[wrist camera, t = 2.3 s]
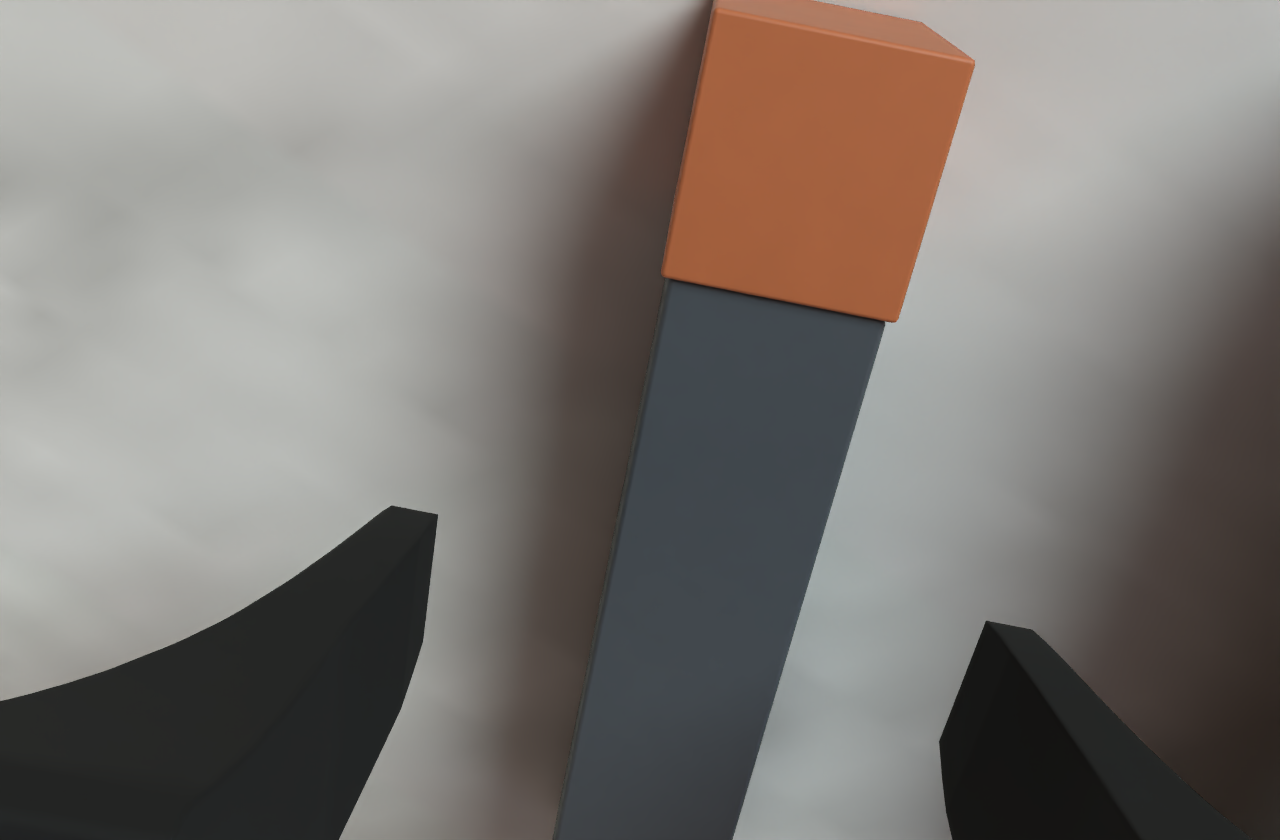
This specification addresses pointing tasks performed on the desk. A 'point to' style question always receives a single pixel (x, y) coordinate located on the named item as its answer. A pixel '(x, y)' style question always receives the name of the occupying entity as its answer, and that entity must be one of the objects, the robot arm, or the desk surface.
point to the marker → (752, 395)
